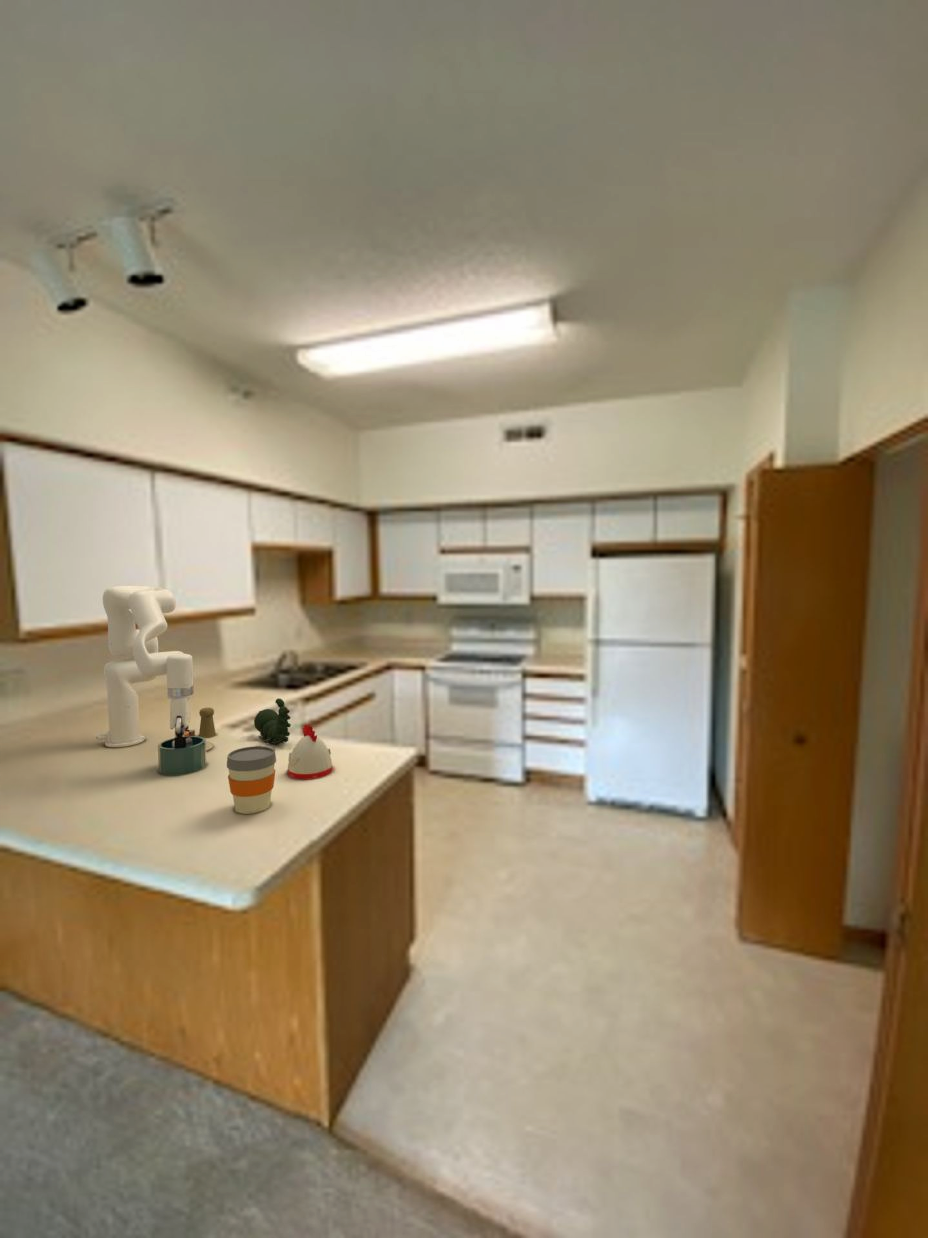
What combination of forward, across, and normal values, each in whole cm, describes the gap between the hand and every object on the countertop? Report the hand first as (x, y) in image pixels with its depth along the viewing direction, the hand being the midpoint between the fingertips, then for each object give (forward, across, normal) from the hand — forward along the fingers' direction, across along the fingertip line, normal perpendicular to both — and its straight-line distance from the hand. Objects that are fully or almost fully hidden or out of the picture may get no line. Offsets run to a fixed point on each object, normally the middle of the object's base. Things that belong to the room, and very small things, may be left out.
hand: (182, 745), depth 172 cm
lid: (+7, -19, 0) cm, 20 cm away
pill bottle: (+7, 0, 0) cm, 7 cm away
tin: (+8, 0, 0) cm, 8 cm away
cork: (+8, -36, +4) cm, 37 cm away
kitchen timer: (+8, +17, +39) cm, 43 cm away
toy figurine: (+8, -21, +28) cm, 36 cm away
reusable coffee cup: (+8, +39, +22) cm, 45 cm away
